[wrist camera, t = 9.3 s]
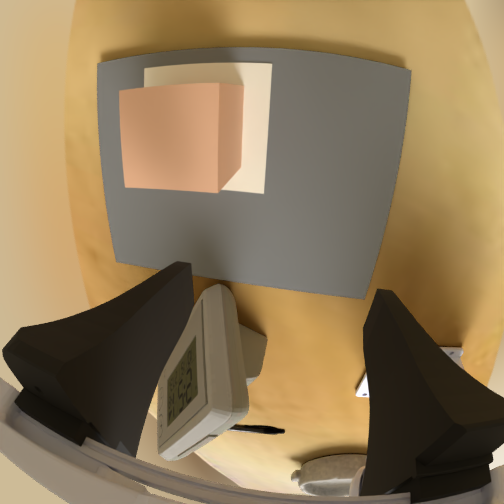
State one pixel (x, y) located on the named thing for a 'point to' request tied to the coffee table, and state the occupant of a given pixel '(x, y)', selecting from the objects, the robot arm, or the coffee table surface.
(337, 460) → the dish
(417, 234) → the coffee table surface
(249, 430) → the pen
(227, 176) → the block
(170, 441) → the digital clock
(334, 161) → the mat
